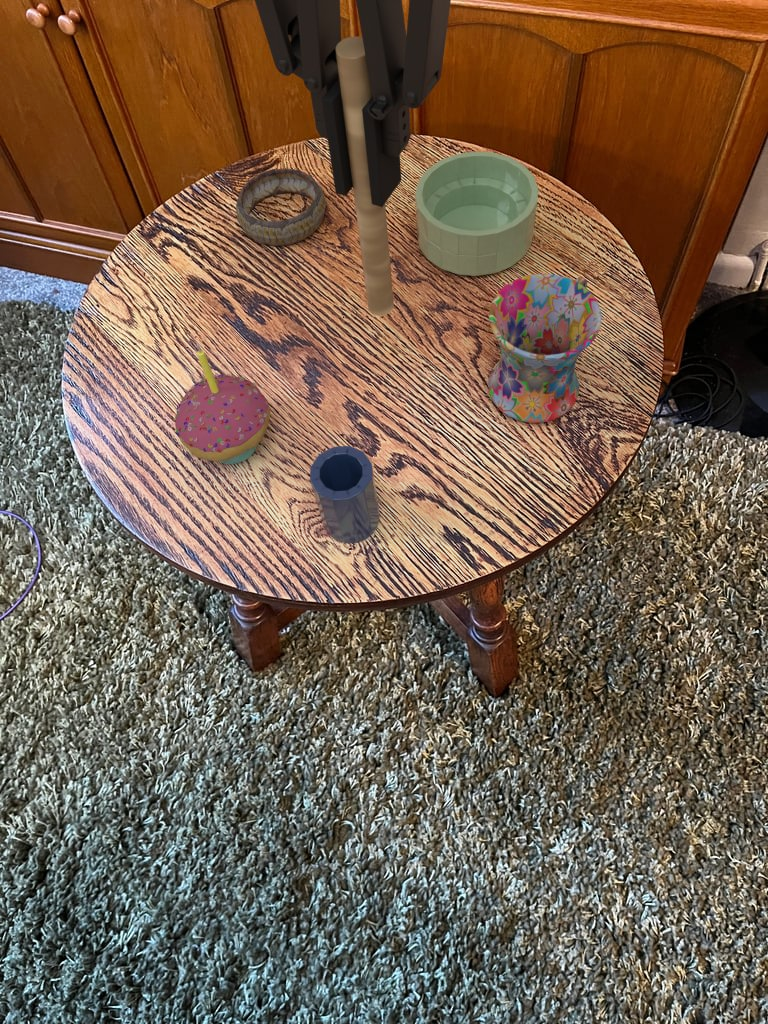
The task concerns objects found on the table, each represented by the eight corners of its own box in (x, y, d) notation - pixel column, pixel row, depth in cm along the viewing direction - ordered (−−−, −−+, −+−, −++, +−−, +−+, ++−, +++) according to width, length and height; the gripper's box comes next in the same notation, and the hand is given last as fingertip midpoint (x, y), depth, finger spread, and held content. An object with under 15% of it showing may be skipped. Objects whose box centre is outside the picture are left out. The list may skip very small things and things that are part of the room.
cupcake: (187, 417, 75) (144, 334, 65) (272, 399, 75) (244, 313, 65) (195, 491, 71) (151, 416, 60) (285, 471, 71) (257, 393, 61)
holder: (389, 507, 69) (383, 459, 62) (362, 552, 67) (352, 509, 60) (341, 485, 70) (329, 437, 63) (313, 529, 68) (298, 484, 61)
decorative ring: (222, 219, 88) (275, 264, 84) (214, 196, 85) (269, 241, 81) (291, 175, 91) (345, 217, 87) (286, 151, 88) (342, 192, 84)
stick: (398, 301, 60) (378, 40, 42) (386, 319, 59) (361, 61, 41) (375, 293, 60) (346, 32, 42) (363, 311, 59) (328, 53, 42)
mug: (549, 448, 70) (565, 375, 61) (464, 402, 74) (467, 326, 64) (613, 361, 75) (637, 280, 65) (530, 321, 78) (542, 239, 68)
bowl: (550, 217, 84) (557, 170, 79) (503, 294, 80) (507, 249, 74) (448, 186, 88) (448, 139, 83) (397, 258, 83) (394, 213, 78)
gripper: (97, -316, 30) (241, 193, 50) (451, -278, 26) (449, 259, 46) (204, -384, 33) (298, 124, 53) (537, -359, 29) (499, 180, 49)
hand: (368, 186), depth 50 cm, fingers closed on stick, 2 cm apart
